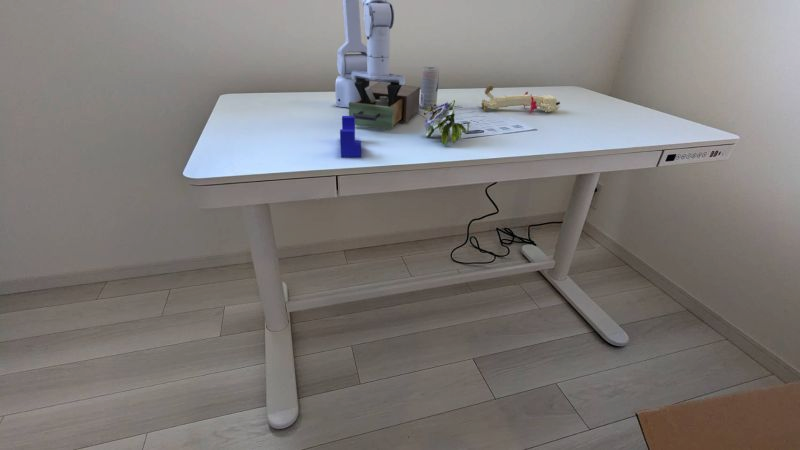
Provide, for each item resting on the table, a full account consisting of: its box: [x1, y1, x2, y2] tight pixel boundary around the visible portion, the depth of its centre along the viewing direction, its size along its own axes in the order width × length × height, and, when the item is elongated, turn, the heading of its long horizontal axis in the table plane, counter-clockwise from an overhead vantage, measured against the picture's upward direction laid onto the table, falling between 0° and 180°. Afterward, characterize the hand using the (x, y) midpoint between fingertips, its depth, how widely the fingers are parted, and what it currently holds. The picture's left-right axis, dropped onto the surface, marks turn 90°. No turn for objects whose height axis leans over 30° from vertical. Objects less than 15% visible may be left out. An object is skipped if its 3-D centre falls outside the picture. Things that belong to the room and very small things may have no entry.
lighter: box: [365, 85, 388, 106], centre depth 107 cm, size 7×2×8 cm, turn 98°
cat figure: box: [481, 84, 561, 114], centre depth 127 cm, size 10×9×25 cm
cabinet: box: [369, 82, 421, 124], centre depth 117 cm, size 14×14×8 cm
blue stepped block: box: [339, 115, 362, 158], centre depth 92 cm, size 12×4×6 cm, turn 5°
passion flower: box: [423, 99, 471, 147], centre depth 100 cm, size 11×11×12 cm
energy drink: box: [419, 66, 440, 110], centre depth 126 cm, size 5×5×12 cm
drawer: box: [348, 96, 404, 131], centre depth 107 cm, size 17×12×6 cm
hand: (377, 109), depth 108 cm, fingers closed on lighter, 7 cm apart
